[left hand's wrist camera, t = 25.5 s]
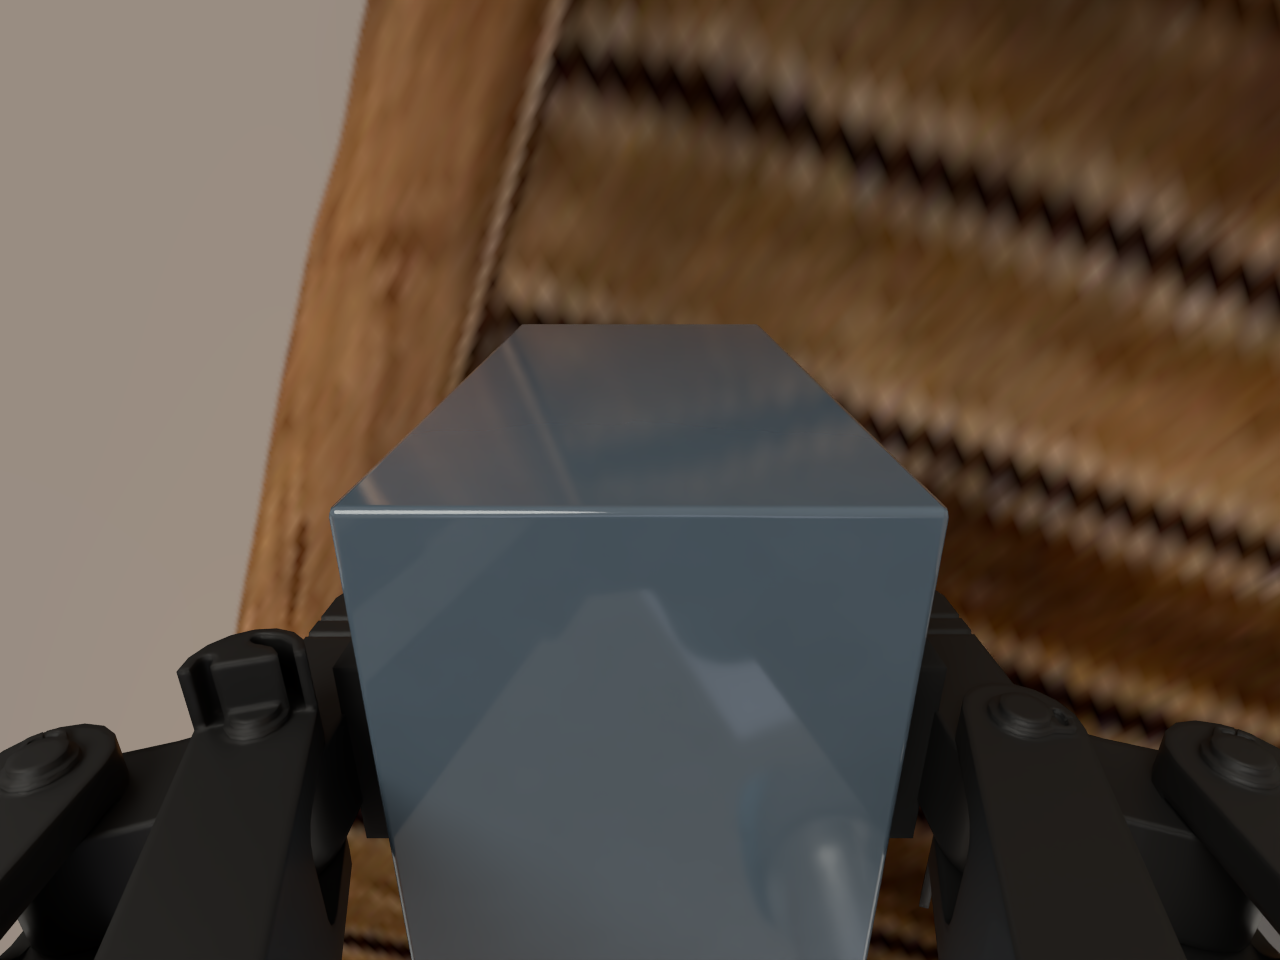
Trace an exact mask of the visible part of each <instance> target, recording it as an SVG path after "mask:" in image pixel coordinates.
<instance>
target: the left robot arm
mask: <svg viewBox="0 0 1280 960" xmlns="http://www.w3.org/2000/svg"><path fill="white" fill-rule="evenodd" d="M177 675H178V678H179V682H180V685H181V688H182V691H183V695H184V698H185V701H186V705H187V708H188V711H189V714H190V718H191V721H192V724H193V727H194V733H193V735H192V737H191V738H187V739H184V740H180V741H177V742H172V743H167V744H163V745H158V746H153V747H149V748H144V749H139V750H135V751H130V752H126V753H122V752H121V749H120V746H119V744H118V741H117V738H116V735H115V734H114V733H113V732H112V731H110V730H109V729H108V728H106V727H105V726H101V725H92V724H79V725H73V726H66V727H59V728H56V729H52V730H49V731H46V732H44V733H43V732H42V733H40V734H37V735H34V736H31V737H29V738H27V739H25V740H24V741H22V742H20V743H18V744H16V745H14V746H12V747H10V748H8V749H6V750H4V751H2V752H1V753H0V940H1V939H2V937H3V936H4V935H5V934H6V933H7V931H8V930H9V929H10V928H11V926H12V925H13V924H14V923H15V922H16V920H17V919H18V921H19V923H20V925H21V927H22V929H23V932H22V933H21V934H20V936H19V937H18V938H17V939H16V941H15V942H14V943H13V944H12V945H11V946H10V947H9V948H8V949H7V950H6V951H5V952H4V953H3V954H2V955H1V956H0V960H342V951H343V942H344V932H345V923H346V914H347V905H348V895H349V886H350V877H351V867H352V862H351V856H350V849H349V845H348V840H347V835H348V833H349V831H350V828H351V826H352V824H353V822H354V820H355V818H356V816H357V813H358V811H359V809H360V807H361V812H362V817H363V822H364V826H365V831H366V836H367V838H389V836H388V830H387V825H386V820H385V814H384V809H383V804H382V798H381V793H380V787H379V782H378V777H377V771H376V766H375V761H374V755H373V750H372V745H371V739H370V734H369V728H368V723H367V718H366V712H365V707H364V702H363V696H362V691H361V686H360V680H359V675H358V669H357V664H356V659H355V653H354V648H353V643H352V637H351V632H350V626H349V621H348V616H347V610H346V605H345V600H344V594H342V595H340V596H338V597H337V598H336V599H335V600H334V601H333V603H332V604H331V605H330V607H329V608H328V609H327V610H326V612H325V613H324V614H323V616H322V617H321V621H318V622H317V623H316V624H315V626H314V627H313V628H312V630H311V631H310V632H309V637H305V639H304V640H303V639H302V638H301V637H300V636H298V635H297V634H296V633H294V632H291V631H287V630H282V629H277V628H276V629H257V630H251V631H247V632H243V633H239V634H234V635H231V636H228V637H226V638H223V639H221V640H219V641H216V642H214V643H212V644H209V645H207V646H206V647H204V648H203V649H201V650H200V651H198V652H197V653H195V654H193V655H192V656H190V657H189V658H188V659H187V660H186V661H185V663H184V664H183V665H182V666H181V667H180V668H179V670H178V671H177ZM919 805H920V807H921V809H922V811H923V813H924V815H925V817H926V819H927V822H928V824H929V826H930V828H931V830H932V832H933V834H934V835H933V840H932V845H931V849H930V854H929V858H928V863H927V868H926V872H925V877H924V881H923V886H922V891H921V897H920V903H919V906H920V907H924V908H929V903H930V899H931V894H932V903H933V912H934V921H935V931H936V940H937V949H938V958H939V960H1280V749H1279V748H1277V747H1275V746H1273V745H1271V744H1269V743H1267V742H1265V741H1263V740H1261V739H1259V738H1257V737H1255V736H1254V735H1252V734H1250V733H1247V732H1244V731H1242V730H1239V729H1238V730H1237V729H1234V728H1233V727H1229V726H1225V725H1221V724H1215V723H1209V722H1202V721H1187V722H1179V723H1175V724H1174V725H1173V726H1171V727H1170V728H1169V729H1167V730H1166V731H1165V734H1164V736H1163V739H1162V742H1161V745H1160V747H1159V750H1155V749H1150V748H1145V747H1141V746H1136V745H1131V744H1127V743H1122V742H1117V741H1113V740H1108V739H1103V738H1099V737H1096V736H1092V735H1089V734H1087V731H1086V729H1085V728H1084V726H1083V725H1082V724H1081V722H1080V721H1079V720H1078V718H1077V717H1076V715H1075V714H1074V713H1072V712H1071V711H1070V710H1068V709H1067V708H1066V707H1064V706H1063V705H1062V704H1061V703H1059V702H1058V701H1057V700H1054V699H1052V698H1050V697H1048V696H1046V695H1044V694H1042V693H1040V692H1038V691H1036V690H1033V689H1029V688H1026V687H1022V686H1018V685H1014V684H1013V683H1012V682H1011V680H1010V679H1009V678H1008V677H1007V675H1006V674H1005V673H1004V672H1003V670H1002V669H1001V668H1000V666H999V665H998V664H997V663H996V661H995V660H994V659H993V658H992V656H991V655H990V654H989V653H988V651H987V650H986V649H985V647H984V646H983V645H982V644H981V642H980V641H979V640H978V639H977V637H976V636H975V635H974V634H971V630H970V628H969V627H968V626H967V625H966V623H965V622H964V621H963V620H962V618H959V614H958V613H957V612H956V611H955V609H954V608H953V607H952V606H951V604H950V603H949V602H948V600H947V599H946V598H945V597H944V596H943V595H942V594H940V593H939V592H937V591H936V590H935V594H934V599H933V604H932V610H931V615H930V621H929V626H928V631H927V637H926V642H925V647H924V653H923V658H922V664H921V669H920V674H919V680H918V685H917V691H916V696H915V701H914V707H913V712H912V718H911V723H910V728H909V734H908V739H907V745H906V750H905V755H904V761H903V766H902V772H901V777H900V782H899V788H898V793H897V798H896V804H895V809H894V815H893V820H892V825H891V831H890V836H889V838H913V834H914V829H915V824H916V819H917V814H918V809H919Z"/></svg>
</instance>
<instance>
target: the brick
mask: <svg viewBox="0 0 1280 960" xmlns="http://www.w3.org/2000/svg"><path fill="white" fill-rule="evenodd" d="M948 518H949V515H948V511H947V508H946V507H945V506H944V505H943V504H942V503H941V502H940V501H939V500H938V499H937V498H936V497H935V496H934V495H933V494H932V493H931V492H930V491H929V490H928V489H927V488H926V487H925V486H924V485H923V484H922V483H921V482H919V481H918V480H917V479H916V478H915V477H914V476H913V475H912V474H911V473H910V472H909V471H908V470H907V469H906V468H905V467H904V466H903V465H902V464H901V463H900V462H899V461H898V460H897V459H896V458H895V457H894V456H893V455H892V454H891V453H890V452H889V451H888V450H886V449H885V448H884V447H883V446H882V445H881V444H880V443H879V442H878V441H877V440H876V439H875V438H874V437H873V436H872V435H871V434H870V433H869V432H868V431H867V430H866V429H865V428H864V427H863V426H862V425H861V424H860V423H859V422H858V421H857V420H856V419H855V418H853V417H852V416H851V415H850V414H849V413H848V412H847V411H846V410H845V409H844V408H843V407H842V406H841V405H840V404H839V403H838V402H837V401H836V400H835V399H834V398H833V397H832V396H831V395H830V394H829V393H828V392H827V391H826V390H825V389H824V388H823V387H822V386H821V385H819V384H818V383H817V382H816V381H815V380H814V379H813V378H812V377H811V376H810V375H809V374H808V373H807V372H806V371H805V370H804V369H803V368H802V367H801V366H800V365H799V364H798V363H797V362H796V361H795V360H794V359H793V358H792V357H791V356H790V355H789V354H788V353H786V352H785V351H784V350H783V349H782V348H781V347H780V346H779V345H778V344H777V343H776V342H775V341H774V340H773V339H772V338H771V337H770V336H769V335H768V334H767V333H766V332H765V331H764V330H763V329H762V328H761V327H760V326H758V325H613V324H523V325H521V326H520V327H519V328H518V329H517V330H516V331H515V332H514V333H513V334H512V335H510V336H509V337H508V338H507V339H506V340H505V341H504V342H503V343H502V344H501V345H500V346H499V347H498V348H497V349H496V350H495V351H494V352H493V353H492V354H491V355H490V356H489V357H488V358H487V359H485V360H484V361H483V362H482V363H481V364H480V365H479V366H478V367H477V368H476V369H475V370H474V371H473V372H472V373H471V374H470V375H469V376H468V377H467V378H466V379H465V380H464V381H463V382H462V383H460V384H459V385H458V386H457V387H456V388H455V389H454V390H453V391H452V392H451V393H450V394H449V395H448V396H447V397H446V398H445V399H444V400H443V401H442V402H441V403H440V404H439V405H438V406H436V407H435V408H434V409H433V410H432V411H431V412H430V413H429V414H428V415H427V416H426V417H425V418H424V419H423V420H422V421H421V422H420V423H419V424H418V425H417V426H416V427H415V428H414V429H413V430H411V431H410V432H409V433H408V434H407V435H406V436H405V437H404V438H403V439H402V440H401V441H400V442H399V443H398V444H397V445H396V446H395V447H394V448H393V449H392V450H391V451H390V452H389V453H387V454H386V455H385V456H384V457H383V458H382V459H381V460H380V461H379V462H378V463H377V464H376V465H375V466H374V467H373V468H372V469H371V470H370V471H369V472H368V473H367V474H366V475H365V476H364V477H362V478H361V479H360V480H359V481H358V482H357V483H356V484H355V485H354V486H353V487H352V488H351V489H350V490H349V491H348V492H347V493H346V494H345V495H344V496H343V497H342V498H341V499H340V500H339V501H337V502H336V503H335V504H334V505H333V506H332V507H331V510H330V514H329V519H330V524H331V530H332V535H333V541H334V546H335V551H336V557H337V562H338V567H339V573H340V578H341V584H342V589H343V594H344V600H345V605H346V610H347V616H348V621H349V626H350V632H351V637H352V643H353V648H354V653H355V659H356V664H357V669H358V675H359V680H360V686H361V691H362V696H363V702H364V707H365V712H366V718H367V723H368V728H369V734H370V739H371V745H372V750H373V755H374V761H375V766H376V771H377V777H378V782H379V787H380V793H381V798H382V804H383V809H384V814H385V820H386V825H387V830H388V836H389V841H390V847H391V852H392V857H393V863H394V868H395V873H396V879H397V884H398V889H399V895H400V900H401V906H402V911H403V916H404V922H405V927H406V932H407V938H408V943H409V949H410V954H411V959H412V960H867V955H868V949H869V944H870V939H871V933H872V928H873V922H874V917H875V912H876V906H877V901H878V896H879V890H880V885H881V879H882V874H883V869H884V863H885V858H886V852H887V847H888V842H889V836H890V831H891V825H892V820H893V815H894V809H895V804H896V798H897V793H898V788H899V782H900V777H901V772H902V766H903V761H904V755H905V750H906V745H907V739H908V734H909V728H910V723H911V718H912V712H913V707H914V701H915V696H916V691H917V685H918V680H919V674H920V669H921V664H922V658H923V653H924V647H925V642H926V637H927V631H928V626H929V621H930V615H931V610H932V604H933V599H934V594H935V588H936V583H937V577H938V572H939V567H940V561H941V556H942V550H943V545H944V540H945V534H946V529H947V523H948Z"/></svg>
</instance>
